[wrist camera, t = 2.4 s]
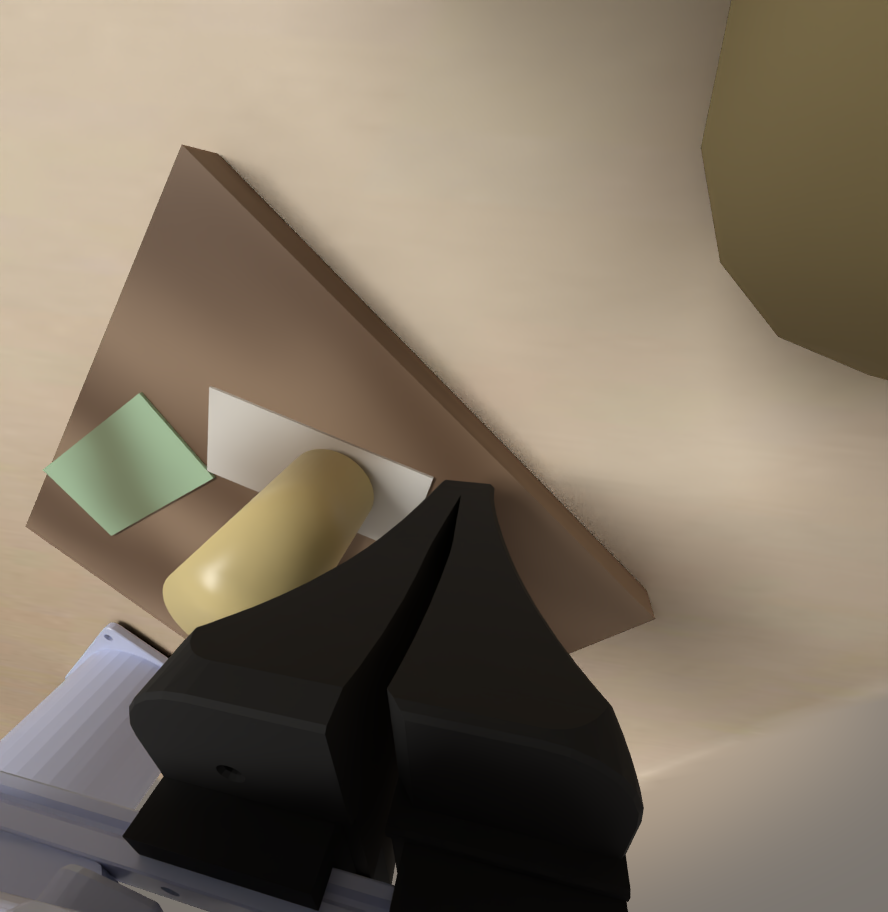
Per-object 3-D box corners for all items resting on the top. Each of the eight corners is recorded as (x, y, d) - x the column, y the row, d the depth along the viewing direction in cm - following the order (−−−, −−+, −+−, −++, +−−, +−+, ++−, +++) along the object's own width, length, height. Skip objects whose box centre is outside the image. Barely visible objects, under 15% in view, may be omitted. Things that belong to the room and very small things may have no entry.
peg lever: (316, 692, 19) (249, 829, 14) (216, 645, 18) (119, 770, 14) (419, 491, 12) (353, 634, 8) (266, 416, 12) (112, 519, 8)
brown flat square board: (348, 723, 22) (337, 748, 21) (51, 508, 19) (20, 526, 17) (646, 590, 14) (655, 621, 13) (213, 150, 10) (173, 139, 9)
